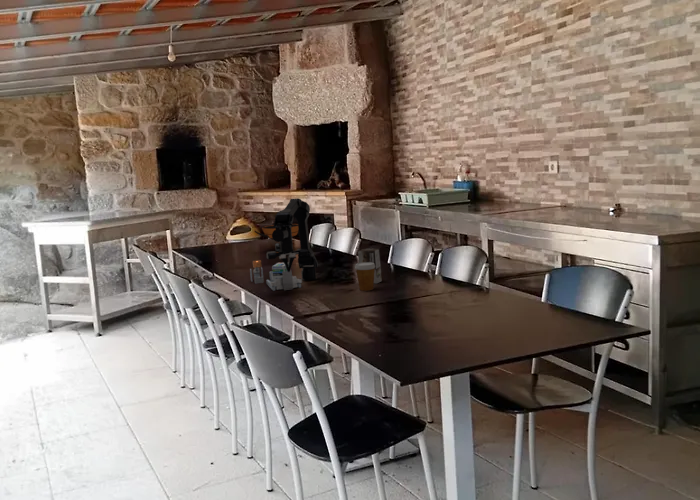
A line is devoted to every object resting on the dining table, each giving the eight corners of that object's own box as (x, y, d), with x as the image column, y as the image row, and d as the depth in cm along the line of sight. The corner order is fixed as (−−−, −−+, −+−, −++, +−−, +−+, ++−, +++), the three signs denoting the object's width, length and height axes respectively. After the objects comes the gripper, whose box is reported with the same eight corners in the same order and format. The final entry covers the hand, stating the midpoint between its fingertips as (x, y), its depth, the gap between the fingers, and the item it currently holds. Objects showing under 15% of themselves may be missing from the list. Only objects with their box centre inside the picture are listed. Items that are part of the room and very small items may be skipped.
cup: (260, 257, 427) (257, 230, 424) (253, 252, 451) (251, 227, 448) (313, 251, 438) (311, 225, 435) (303, 247, 462) (302, 222, 459)
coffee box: (382, 281, 319) (380, 248, 317) (377, 283, 314) (375, 250, 311) (365, 280, 323) (363, 248, 321) (359, 283, 318) (357, 250, 315)
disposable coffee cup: (366, 286, 309) (364, 261, 307) (381, 288, 302) (379, 262, 300) (352, 290, 302) (350, 264, 301) (366, 292, 296) (365, 266, 294)
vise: (288, 276, 349) (287, 264, 348) (301, 287, 317) (300, 274, 316) (250, 280, 344) (249, 268, 343) (260, 292, 312) (258, 279, 311)
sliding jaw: (301, 285, 320) (299, 267, 319) (304, 288, 314) (302, 269, 312) (270, 289, 316) (269, 270, 315) (273, 291, 310) (271, 273, 308)
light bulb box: (286, 287, 320) (284, 265, 319) (273, 287, 322) (271, 266, 320) (292, 282, 331) (290, 261, 329) (279, 283, 332) (278, 262, 331)
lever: (260, 274, 343) (259, 269, 345) (261, 264, 335) (260, 258, 337) (253, 275, 342) (252, 269, 344) (253, 265, 334) (252, 259, 336)
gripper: (302, 235, 314) (304, 267, 317) (263, 238, 309) (266, 271, 312) (306, 237, 304) (309, 270, 306) (267, 241, 299) (269, 275, 301)
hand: (288, 271), depth 307 cm, fingers closed
